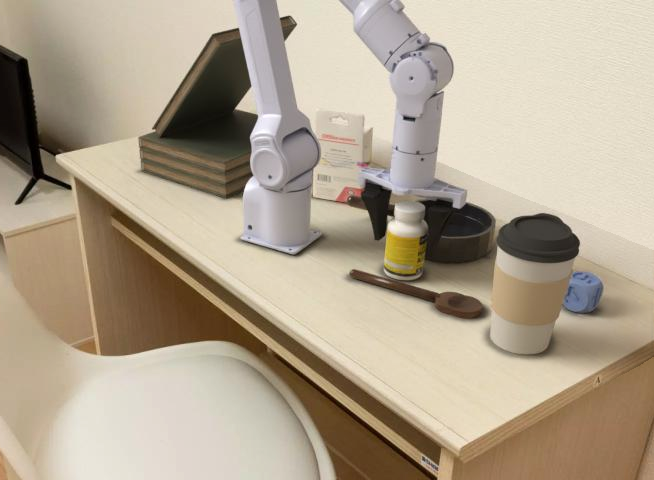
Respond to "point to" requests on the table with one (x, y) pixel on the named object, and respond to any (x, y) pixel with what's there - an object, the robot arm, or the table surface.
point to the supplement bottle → (406, 241)
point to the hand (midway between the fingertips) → (405, 244)
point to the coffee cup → (530, 281)
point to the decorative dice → (583, 292)
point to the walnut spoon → (428, 295)
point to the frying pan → (463, 234)
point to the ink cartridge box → (341, 154)
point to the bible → (207, 121)
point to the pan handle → (358, 203)
